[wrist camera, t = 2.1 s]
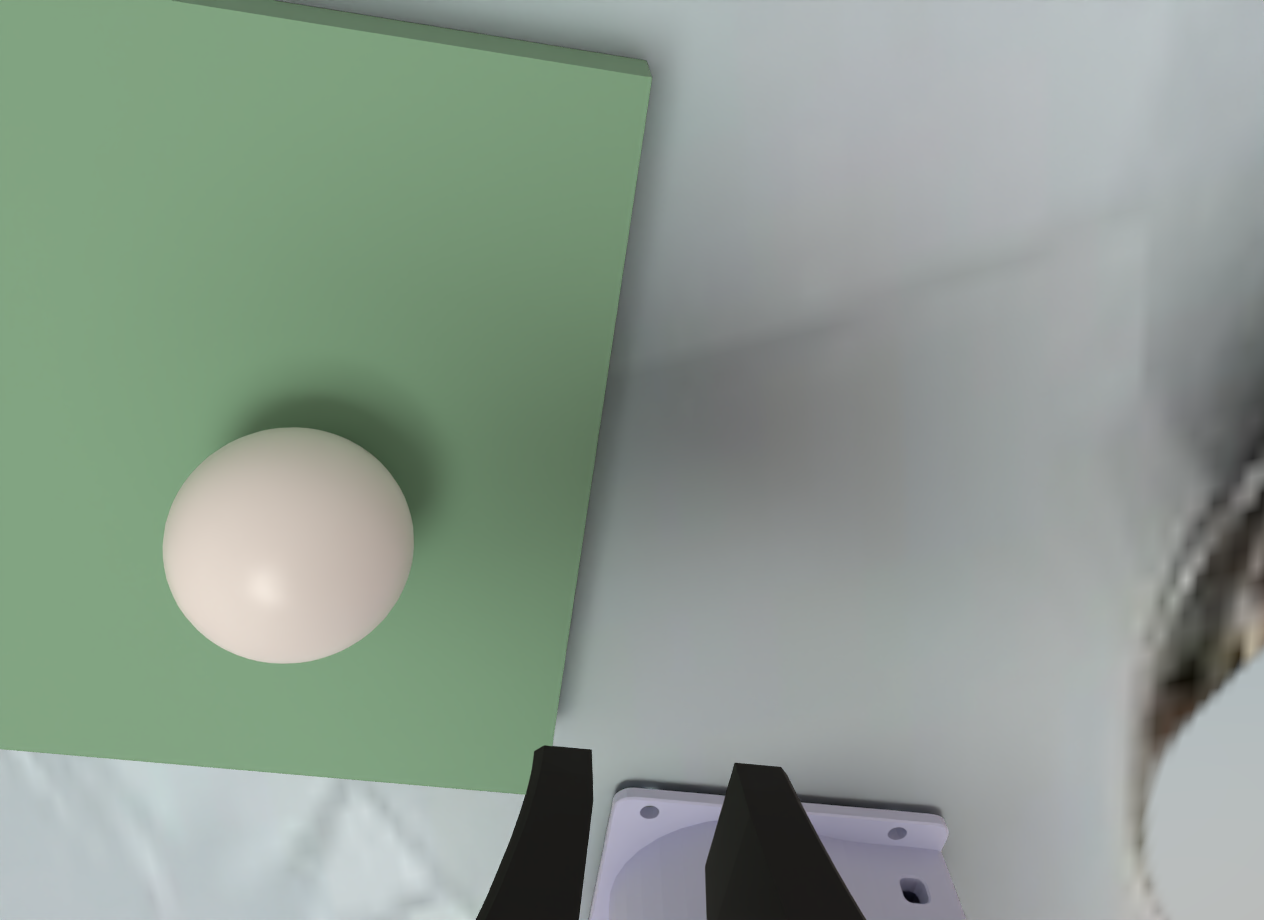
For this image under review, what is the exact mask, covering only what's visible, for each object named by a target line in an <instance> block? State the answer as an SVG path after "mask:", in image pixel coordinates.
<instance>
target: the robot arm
mask: <svg viewBox="0 0 1264 920" xmlns="http://www.w3.org/2000/svg"><path fill="white" fill-rule="evenodd" d="M592 806H593V772H592V750H590V749H579V748H568V747H557V746H546V745H544V746H542V747H540V748H539V749H537V750H535V751H534V756H533V764H532V770H531V775H530V779H529V783H528V787H527V791H526V795H525V798H524V801H523V805H522V808H521V811H520V814H519V817H518V820H517V822H516V825H515V828H514V831H513V834H512V837H511V839H510V842H509V844H508V847H507V849H506V852H505V854H504V857H503V859H502V861H501V864H500V866H499V869H498V871H497V873H496V876H495V878H494V881H493V883H492V885H491V888H490V890H489V893H488V895H487V897H486V899H485V901H484V904H483V906H482V908H481V910H480V912H479V914H478V916H477V918H476V920H579V913H580V905H581V897H582V889H583V880H584V872H585V864H586V856H587V847H588V839H589V831H590V823H591V814H592ZM645 806H653V807H645ZM948 835H949V830H948V828H947V825H946V823H945V820H944V819H943V818H942V817H941V816H939V815H935V814H928V813H916V812H905V811H894V810H882V809H871V808H860V807H848V806H837V805H826V804H815V803H803V802H800V800H799V798H798V796H797V794H796V792H795V790H794V788H793V786H792V784H791V782H790V780H789V778H788V776H787V774H786V773H785V772H784V770H783V769H782V768H781V767H775V766H764V765H753V764H742V763H735V764H734V767H733V771H732V774H731V778H730V781H729V784H728V788H727V791H726V795H725V796H724V795H713V794H701V793H690V792H679V791H667V790H656V789H645V788H625V789H622V790H620V791H619V792H618V793H616V794H615V796H614V798H613V802H612V807H611V812H610V817H609V822H608V827H607V832H606V837H605V841H604V846H603V851H602V856H601V861H600V866H599V871H598V876H597V881H596V886H595V891H594V896H593V901H592V906H591V911H590V916H589V920H966V917H965V914H964V911H963V909H962V906H961V903H960V901H959V898H958V895H957V892H956V890H955V887H954V884H953V882H952V879H951V876H950V873H949V871H948V868H947V865H946V863H945V860H944V857H943V854H942V852H941V851H942V849H943V847H944V844H945V842H946V840H947V838H948Z"/></svg>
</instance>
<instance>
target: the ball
mask: <svg viewBox="0 0 1264 920" xmlns="http://www.w3.org/2000/svg"><path fill="white" fill-rule="evenodd" d="M162 547H163V563H164V569H165V574H166V579H167V582H168V585H169V587H170V590H171V592H172V595H173V597H174V599H175V601H176V603H177V605H178V607H179V608H180V610H181V611H182V612H183V614H184V615H185V617H186V618H187V619H188V620H189V621H190V622H191V623H192V625H193V626H194V627H195V628H196V629H197V630H198V631H199V632H200V633H201V634H203V635H204V636H205V637H206V638H207V639H209V640H210V641H212V642H213V643H214V644H216V645H218V646H219V647H221V648H223V649H225V650H227V651H229V652H231V653H233V654H236V655H238V656H241V657H244V658H247V659H251V660H255V661H259V662H266V663H279V664H287V663H302V662H309V661H313V660H317V659H321V658H324V657H327V656H330V655H333V654H335V653H338V652H340V651H343V650H344V649H346V648H348V647H350V646H351V645H353V644H355V643H356V642H358V641H360V640H361V639H363V638H364V637H365V636H367V635H368V634H369V633H370V632H371V631H373V630H374V629H375V628H376V627H377V626H378V625H379V624H380V623H381V622H382V621H383V620H384V619H385V618H386V616H387V615H388V613H389V612H390V611H391V609H392V608H393V606H394V605H395V604H396V602H397V601H398V599H399V597H400V595H401V593H402V591H403V589H404V587H405V584H406V582H407V579H408V576H409V573H410V569H411V565H412V560H413V552H414V533H413V524H412V519H411V514H410V511H409V508H408V505H407V502H406V499H405V497H404V495H403V493H402V491H401V489H400V487H399V485H398V484H397V482H396V481H395V479H394V478H393V477H392V475H391V474H390V472H389V471H388V470H387V469H386V468H385V467H384V465H383V464H382V463H381V462H380V461H379V460H378V459H376V458H375V457H374V456H373V455H372V454H371V453H369V452H368V451H366V450H365V449H363V448H362V447H361V446H359V445H357V444H355V443H353V442H352V441H350V440H348V439H345V438H343V437H341V436H338V435H336V434H332V433H329V432H326V431H322V430H317V429H311V428H299V427H290V428H274V429H268V430H263V431H259V432H256V433H253V434H249V435H246V436H244V437H241V438H239V439H236V440H234V441H232V442H230V443H228V444H227V445H225V446H223V447H222V448H220V449H219V450H217V451H216V452H214V453H213V454H211V455H210V456H209V457H207V458H206V459H205V460H204V461H203V462H202V463H201V464H200V465H199V466H198V467H197V468H196V469H195V470H194V471H193V472H192V473H191V474H190V476H189V477H188V478H187V479H186V481H185V482H184V483H183V485H182V487H181V488H180V490H179V491H178V493H177V495H176V497H175V499H174V501H173V503H172V506H171V508H170V511H169V514H168V517H167V520H166V523H165V530H164V538H163V546H162Z"/></svg>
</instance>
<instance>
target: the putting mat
mask: <svg viewBox="0 0 1264 920" xmlns="http://www.w3.org/2000/svg"><path fill="white" fill-rule="evenodd" d="M651 82H652V76H651V73H650V70H649V67H648V64H647V61H645V60H639V59H633V58H627V57H621V56H615V55H608V54H602V53H596V52H590V51H584V50H577V49H571V48H565V47H559V46H553V45H547V44H540V43H534V42H528V41H522V40H516V39H510V38H503V37H497V36H491V35H485V34H479V33H472V32H466V31H460V30H454V29H448V28H442V27H435V26H429V25H423V24H417V23H411V22H405V21H398V20H392V19H386V18H380V17H374V16H367V15H361V14H355V13H349V12H343V11H337V10H330V9H324V8H318V7H312V6H306V5H299V4H293V3H287V2H281V1H275V0H0V749H5V750H17V751H28V752H40V753H51V754H63V755H74V756H86V757H97V758H109V759H121V760H132V761H144V762H155V763H167V764H178V765H190V766H201V767H213V768H224V769H236V770H248V771H259V772H271V773H282V774H294V775H305V776H317V777H328V778H340V779H351V780H363V781H375V782H386V783H398V784H409V785H421V786H432V787H444V788H455V789H467V790H478V791H490V792H502V793H513V794H525V795H526V791H527V787H528V783H529V779H530V775H531V770H532V764H533V756H534V751H535V750H537V749H539V748H540V747H542V746H544V745H546V746H552V744H553V737H554V730H555V724H556V717H557V710H558V704H559V697H560V690H561V684H562V677H563V670H564V663H565V657H566V650H567V643H568V637H569V630H570V623H571V617H572V610H573V603H574V597H575V590H576V583H577V577H578V570H579V563H580V557H581V550H582V543H583V536H584V530H585V523H586V516H587V510H588V503H589V496H590V490H591V483H592V476H593V470H594V463H595V456H596V450H597V443H598V436H599V429H600V423H601V416H602V409H603V403H604V396H605V389H606V383H607V376H608V369H609V363H610V356H611V349H612V343H613V336H614V329H615V323H616V316H617V309H618V302H619V296H620V289H621V282H622V276H623V269H624V262H625V256H626V249H627V242H628V236H629V229H630V222H631V216H632V209H633V202H634V195H635V189H636V182H637V175H638V169H639V162H640V155H641V149H642V142H643V135H644V129H645V122H646V115H647V109H648V102H649V95H650V89H651ZM290 427H299V428H311V429H317V430H322V431H326V432H329V433H332V434H336V435H338V436H341V437H343V438H345V439H348V440H350V441H352V442H353V443H355V444H357V445H359V446H361V447H362V448H363V449H365V450H366V451H368V452H369V453H371V454H372V455H373V456H374V457H375V458H376V459H378V460H379V461H380V462H381V463H382V464H383V465H384V467H385V468H386V469H387V470H388V471H389V472H390V474H391V475H392V477H393V478H394V479H395V481H396V482H397V484H398V485H399V487H400V489H401V491H402V493H403V495H404V497H405V499H406V502H407V505H408V508H409V511H410V514H411V519H412V524H413V533H414V552H413V560H412V565H411V569H410V573H409V576H408V579H407V582H406V584H405V587H404V589H403V591H402V593H401V595H400V597H399V599H398V601H397V602H396V604H395V605H394V606H393V608H392V609H391V611H390V612H389V613H388V615H387V616H386V618H385V619H384V620H383V621H382V622H381V623H380V624H379V625H378V626H377V627H376V628H375V629H374V630H373V631H371V632H370V633H369V634H368V635H367V636H365V637H364V638H363V639H361V640H360V641H358V642H356V643H355V644H353V645H351V646H350V647H348V648H346V649H344V650H343V651H340V652H338V653H335V654H333V655H330V656H327V657H324V658H321V659H317V660H313V661H309V662H302V663H287V664H279V663H266V662H259V661H255V660H251V659H247V658H244V657H241V656H238V655H236V654H233V653H231V652H229V651H227V650H225V649H223V648H221V647H219V646H218V645H216V644H214V643H213V642H212V641H210V640H209V639H207V638H206V637H205V636H204V635H203V634H201V633H200V632H199V631H198V630H197V629H196V628H195V627H194V626H193V625H192V623H191V622H190V621H189V620H188V619H187V618H186V617H185V615H184V614H183V612H182V611H181V610H180V608H179V607H178V605H177V603H176V601H175V599H174V597H173V595H172V592H171V590H170V587H169V585H168V582H167V579H166V574H165V569H164V563H163V547H162V546H163V538H164V530H165V523H166V520H167V517H168V514H169V511H170V508H171V506H172V503H173V501H174V499H175V497H176V495H177V493H178V491H179V490H180V488H181V487H182V485H183V483H184V482H185V481H186V479H187V478H188V477H189V476H190V474H191V473H192V472H193V471H194V470H195V469H196V468H197V467H198V466H199V465H200V464H201V463H202V462H203V461H204V460H205V459H206V458H207V457H209V456H210V455H211V454H213V453H214V452H216V451H217V450H219V449H220V448H222V447H223V446H225V445H227V444H228V443H230V442H232V441H234V440H236V439H239V438H241V437H244V436H246V435H249V434H253V433H256V432H259V431H263V430H268V429H274V428H290Z"/></svg>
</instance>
